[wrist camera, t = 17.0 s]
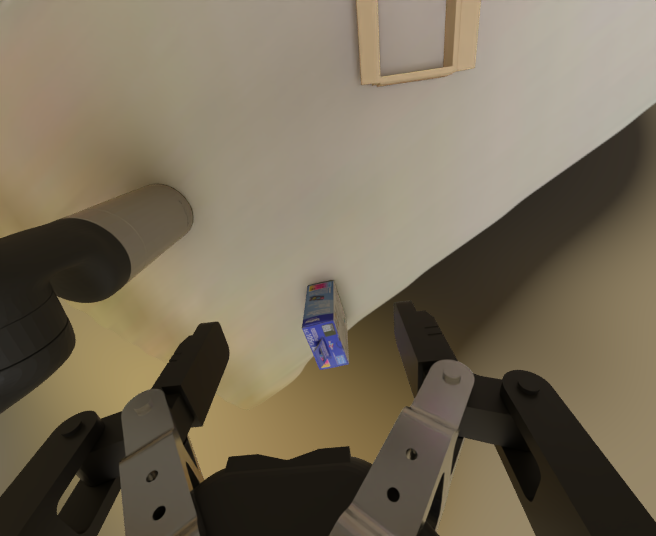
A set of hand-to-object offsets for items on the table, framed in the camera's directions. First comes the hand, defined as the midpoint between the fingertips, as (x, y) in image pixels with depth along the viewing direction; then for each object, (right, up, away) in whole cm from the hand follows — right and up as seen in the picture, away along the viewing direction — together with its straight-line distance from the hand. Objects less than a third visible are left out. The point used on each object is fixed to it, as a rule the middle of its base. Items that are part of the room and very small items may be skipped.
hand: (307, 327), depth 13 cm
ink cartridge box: (+1, -4, +43) cm, 43 cm away
